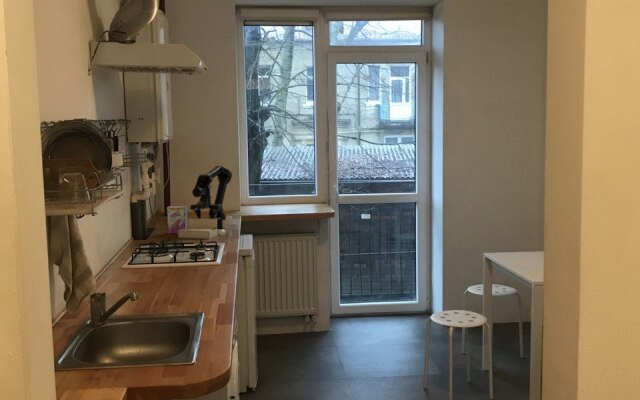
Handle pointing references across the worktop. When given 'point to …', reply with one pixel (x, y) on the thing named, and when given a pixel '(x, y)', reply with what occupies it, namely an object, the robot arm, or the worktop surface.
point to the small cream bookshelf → (197, 233)
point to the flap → (202, 223)
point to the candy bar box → (176, 219)
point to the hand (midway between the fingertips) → (206, 221)
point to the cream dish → (221, 231)
